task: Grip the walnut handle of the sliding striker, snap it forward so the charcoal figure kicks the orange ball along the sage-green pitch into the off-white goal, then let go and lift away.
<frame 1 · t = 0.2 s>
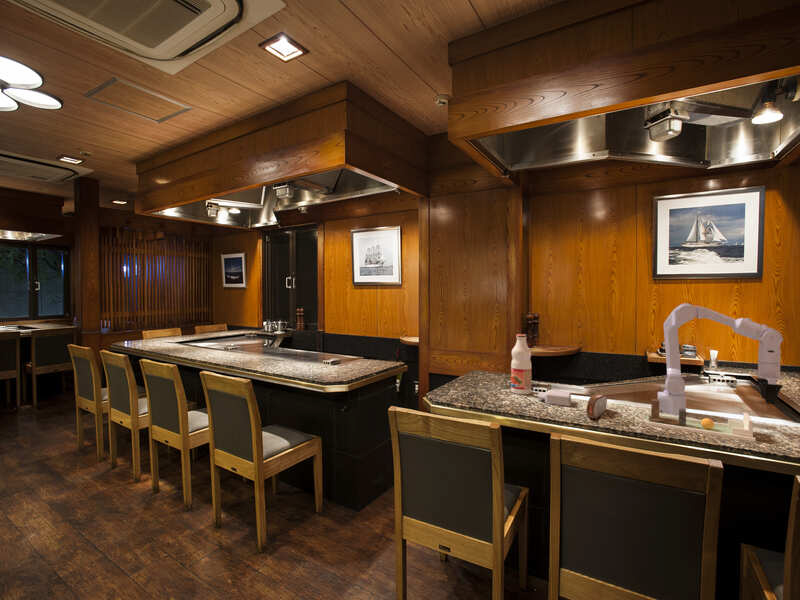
hand: (768, 401, 140), 10 cm above the counter, tool pointing down, fingers open, 7 cm apart
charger: (551, 402, 176), on the counter
striker: (667, 411, 143), point 5 cm above the counter, slide at 0.0 cm
pitch: (707, 433, 136), on the counter
tin: (597, 417, 155), on the counter
ball: (707, 423, 136), point 3 cm above the counter, touching pitch
fruit juice: (521, 392, 193), on the counter
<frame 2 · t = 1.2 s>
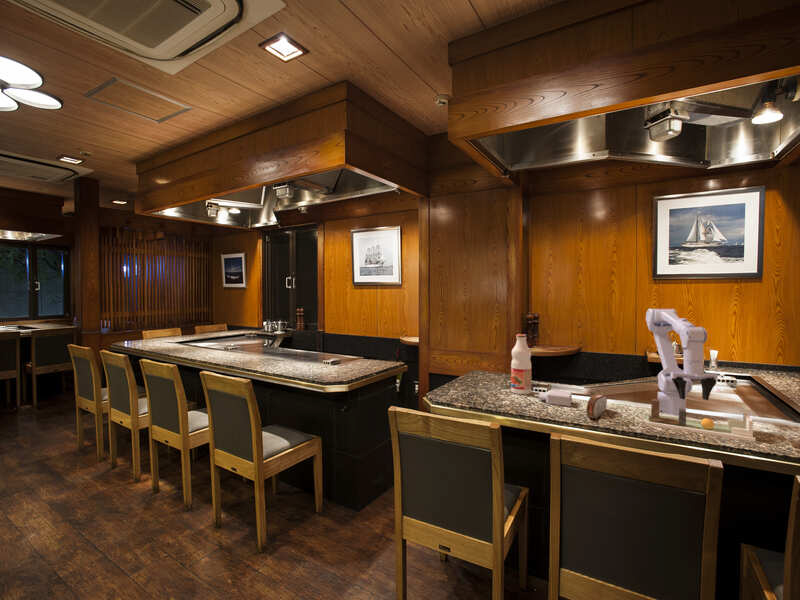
hand: (693, 399, 142), 10 cm above the counter, tool pointing down, fingers open, 7 cm apart
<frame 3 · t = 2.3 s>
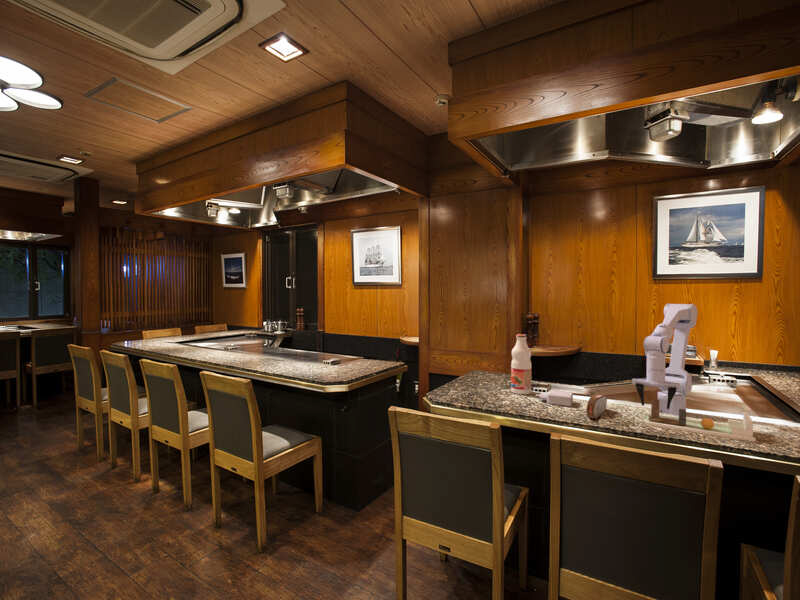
hand: (655, 406, 145), 7 cm above the counter, tool pointing down, fingers open, 7 cm apart
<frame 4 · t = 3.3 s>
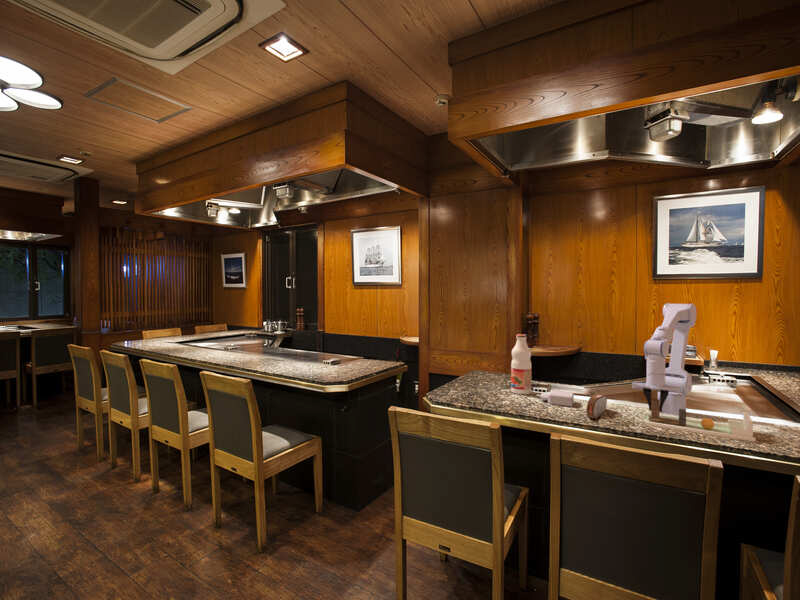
hand: (655, 410, 145), 5 cm above the counter, tool pointing down, fingers closed on striker, 2 cm apart
striker: (667, 411, 143), point 5 cm above the counter, slide at 0.0 cm, touching gripper
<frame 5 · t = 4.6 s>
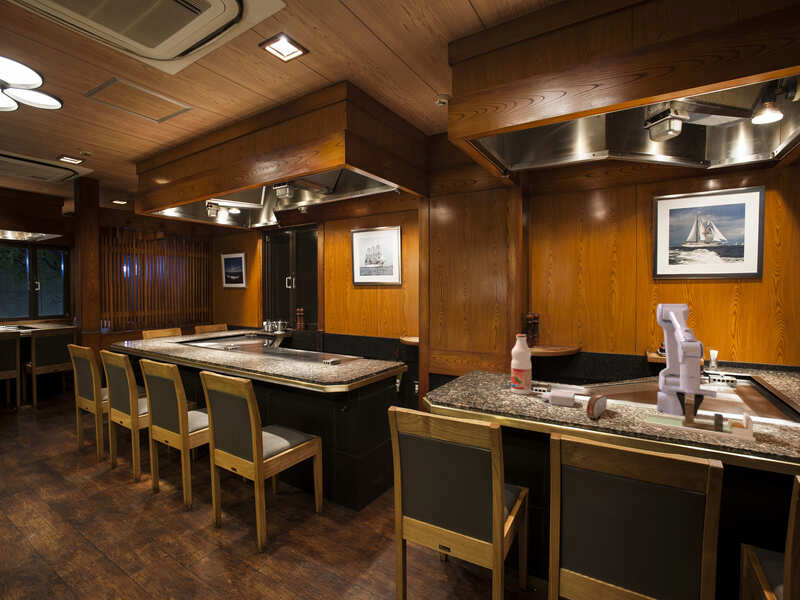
hand: (689, 415, 139), 5 cm above the counter, tool pointing down, fingers closed on striker, 2 cm apart
striker: (701, 416, 137), point 5 cm above the counter, slide at 10.0 cm, touching gripper
ball: (738, 428, 132), point 3 cm above the counter, tilted 113°, touching pitch
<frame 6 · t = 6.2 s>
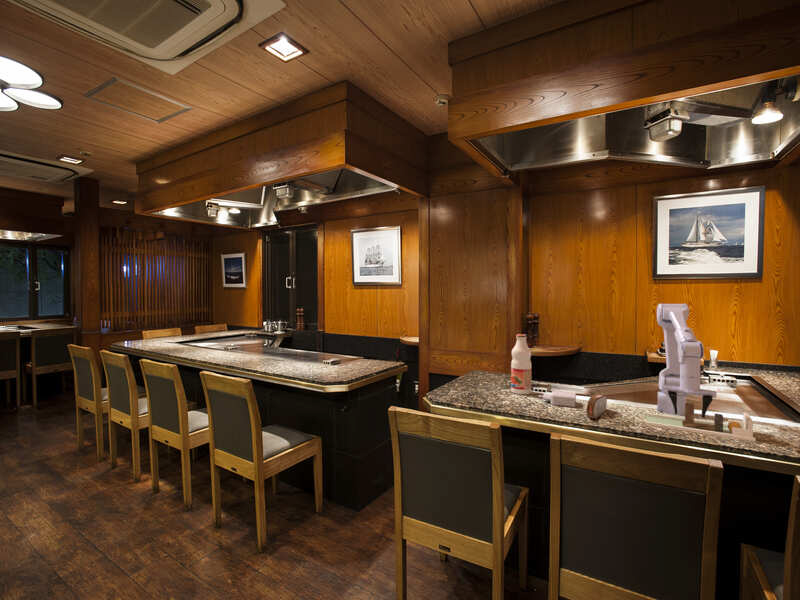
hand: (689, 415, 139), 5 cm above the counter, tool pointing down, fingers open, 7 cm apart
striker: (702, 416, 137), point 5 cm above the counter, slide at 10.0 cm
ball: (734, 427, 132), point 3 cm above the counter, tilted 139°, touching pitch
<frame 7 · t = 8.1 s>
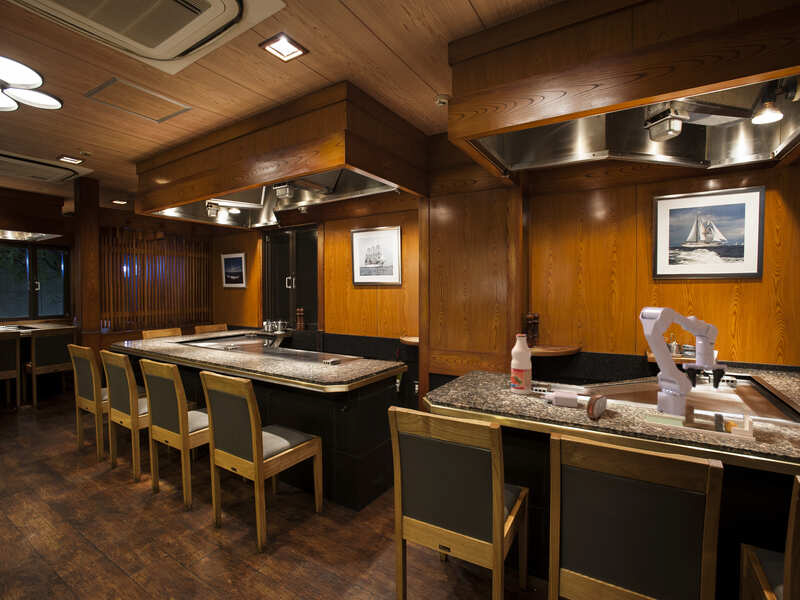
hand: (704, 387, 159), 10 cm above the counter, tool pointing down, fingers open, 7 cm apart
ball: (731, 427, 133), point 3 cm above the counter, tilted 171°, touching pitch
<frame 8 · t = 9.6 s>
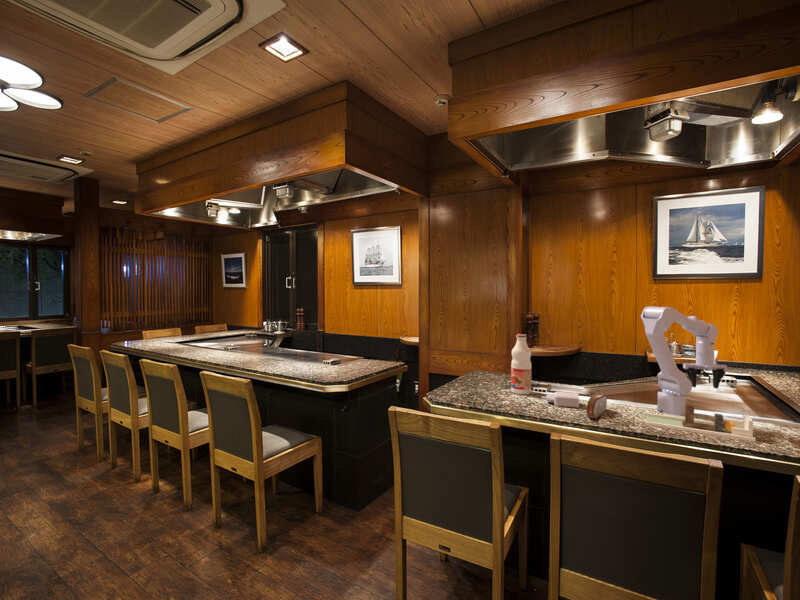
hand: (704, 387, 160), 10 cm above the counter, tool pointing down, fingers open, 7 cm apart
ball: (729, 426, 133), point 3 cm above the counter, tilted 178°, touching pitch
at the end: ball 1.6 cm from the target spot on the pitch, point 3.3 cm above the pitch's base; striker slide at 10.0 cm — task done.
